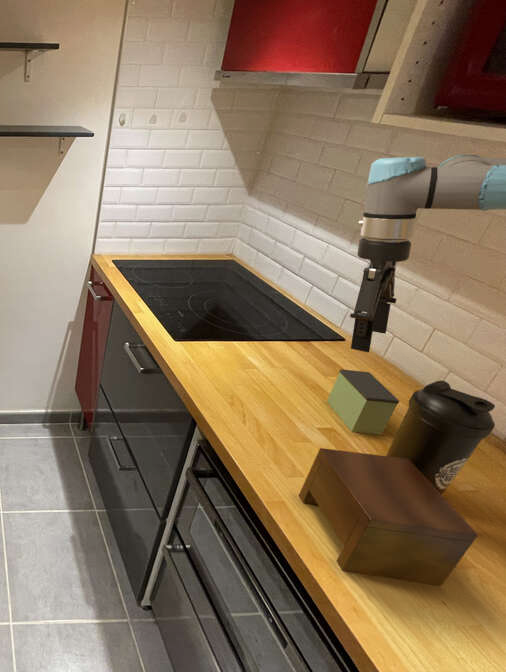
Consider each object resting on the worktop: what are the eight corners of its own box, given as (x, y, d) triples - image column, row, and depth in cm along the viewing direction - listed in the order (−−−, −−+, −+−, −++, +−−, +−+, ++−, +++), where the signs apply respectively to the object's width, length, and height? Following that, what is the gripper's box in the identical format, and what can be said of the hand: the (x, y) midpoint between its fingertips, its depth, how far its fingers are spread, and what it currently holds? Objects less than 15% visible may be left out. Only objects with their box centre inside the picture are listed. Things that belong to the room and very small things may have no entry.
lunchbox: (353, 404, 107) (369, 371, 103) (381, 435, 98) (399, 401, 94) (326, 401, 108) (340, 369, 104) (351, 431, 99) (367, 397, 95)
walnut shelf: (381, 506, 82) (408, 458, 77) (441, 586, 69) (478, 534, 64) (298, 495, 84) (319, 447, 79) (341, 570, 71) (370, 519, 66)
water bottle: (422, 521, 79) (485, 421, 70) (358, 476, 88) (407, 382, 78) (453, 502, 83) (518, 405, 73) (389, 461, 91) (439, 370, 82)
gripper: (375, 229, 97) (361, 321, 102) (342, 246, 82) (327, 353, 87) (423, 231, 91) (406, 329, 96) (396, 251, 76) (378, 364, 81)
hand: (368, 340), depth 92 cm, fingers open, 13 cm apart
